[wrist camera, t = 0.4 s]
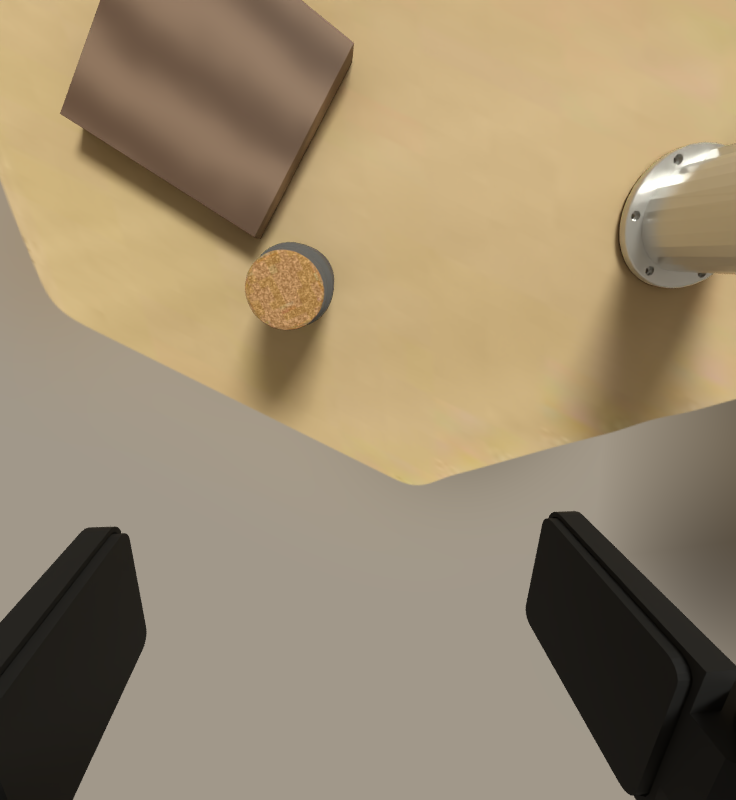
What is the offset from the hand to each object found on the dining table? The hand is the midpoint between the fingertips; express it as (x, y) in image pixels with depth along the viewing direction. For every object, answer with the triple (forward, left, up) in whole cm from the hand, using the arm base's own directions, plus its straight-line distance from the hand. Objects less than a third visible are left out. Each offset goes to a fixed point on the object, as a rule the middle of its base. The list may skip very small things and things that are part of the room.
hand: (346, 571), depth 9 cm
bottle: (-2, -5, -33) cm, 34 cm away
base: (-11, -18, -33) cm, 39 cm away
